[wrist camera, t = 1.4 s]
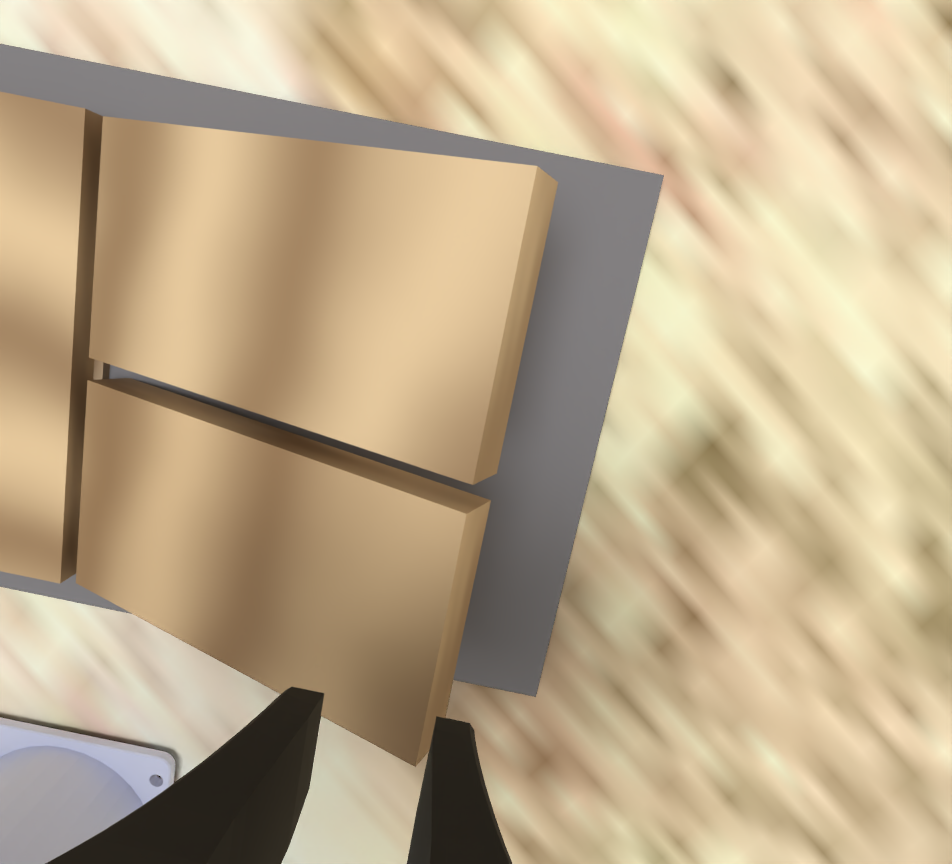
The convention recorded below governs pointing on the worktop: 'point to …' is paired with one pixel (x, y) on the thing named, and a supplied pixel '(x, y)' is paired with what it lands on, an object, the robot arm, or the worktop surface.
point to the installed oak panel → (45, 328)
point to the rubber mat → (542, 362)
